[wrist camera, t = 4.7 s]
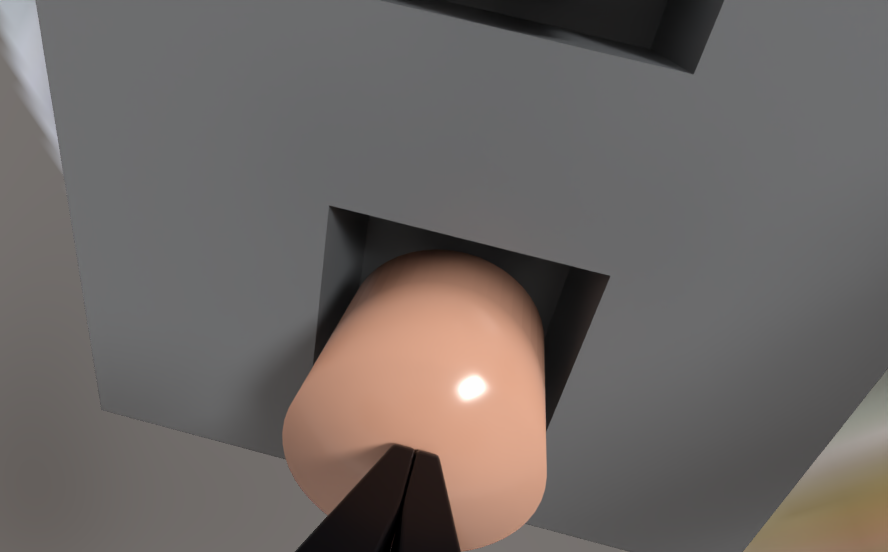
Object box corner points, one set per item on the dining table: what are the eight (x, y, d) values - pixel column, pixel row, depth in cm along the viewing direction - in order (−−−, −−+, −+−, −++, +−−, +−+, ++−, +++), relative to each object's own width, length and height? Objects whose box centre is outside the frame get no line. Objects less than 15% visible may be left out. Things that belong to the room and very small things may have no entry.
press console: (1162, -368, 9) (1715, -678, 5) (680, 442, 19) (722, 576, 15) (166, -569, 10) (-126, -1000, 6) (197, 316, 20) (101, 409, 15)
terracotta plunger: (571, 279, 12) (585, 401, 8) (514, 433, 14) (507, 578, 11) (361, 226, 12) (289, 325, 9) (339, 387, 14) (276, 514, 11)
